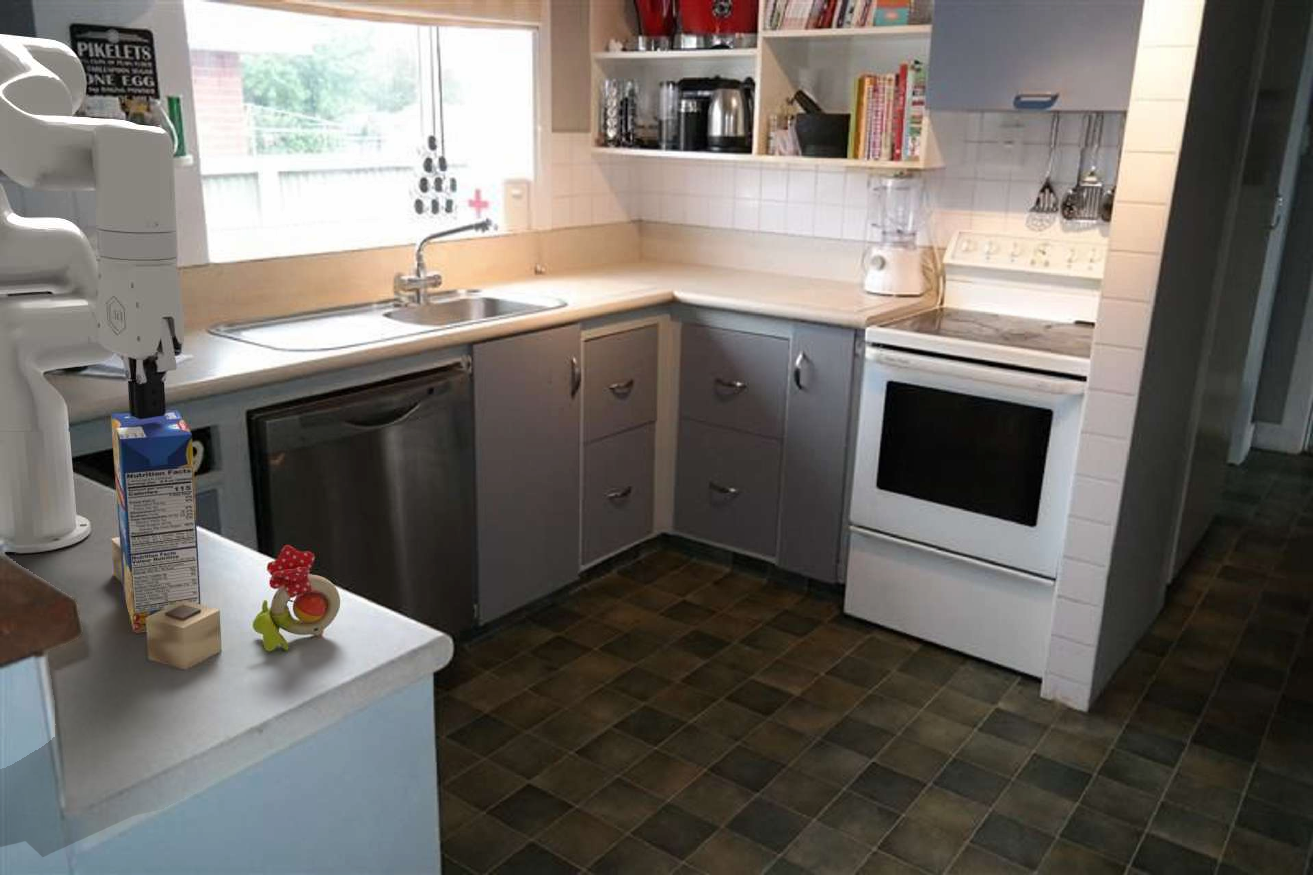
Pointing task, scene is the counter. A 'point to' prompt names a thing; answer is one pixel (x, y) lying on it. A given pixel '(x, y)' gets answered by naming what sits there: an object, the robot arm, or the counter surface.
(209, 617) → the marked oak block near
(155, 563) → the beverage box
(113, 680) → the counter surface
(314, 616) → the bird rattle
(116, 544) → the marked oak block far
